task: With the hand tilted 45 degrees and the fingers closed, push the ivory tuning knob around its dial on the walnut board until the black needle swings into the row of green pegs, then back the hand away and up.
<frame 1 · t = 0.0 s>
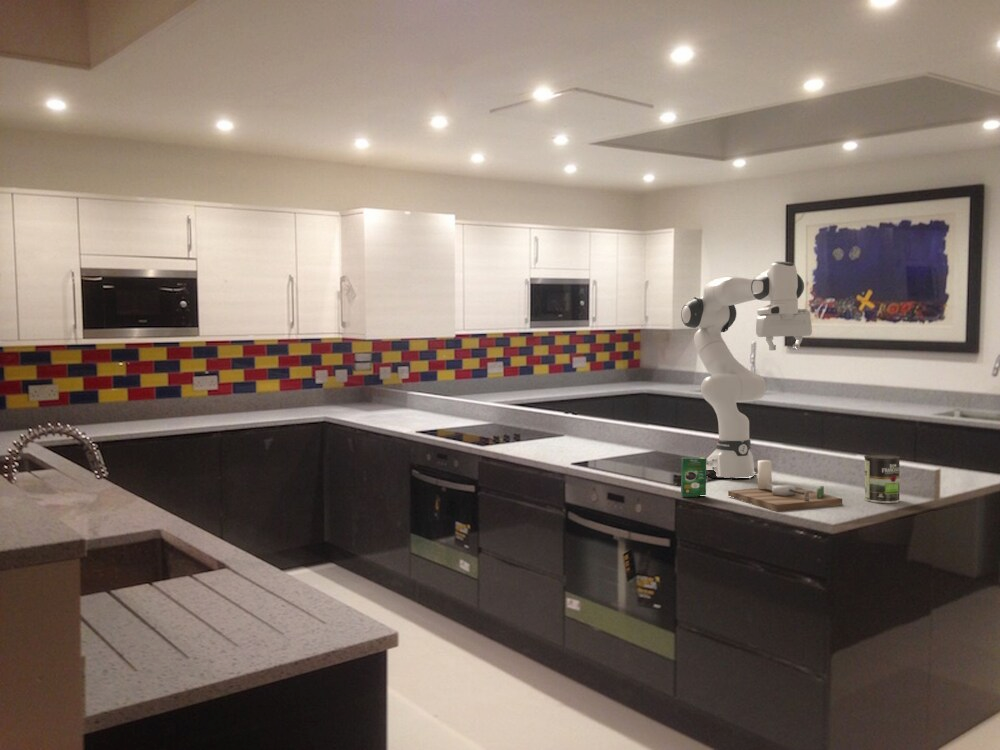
hand: (784, 350, 290), 48 cm above the countertop, tool pointing down, fingers open, 8 cm apart
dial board: (783, 500, 274), on the countertop
coffee box: (693, 497, 284), on the countertop
coffee can: (882, 501, 271), on the countertop
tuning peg: (781, 478, 275), point 7 cm above the countertop, hinge at 0.0°
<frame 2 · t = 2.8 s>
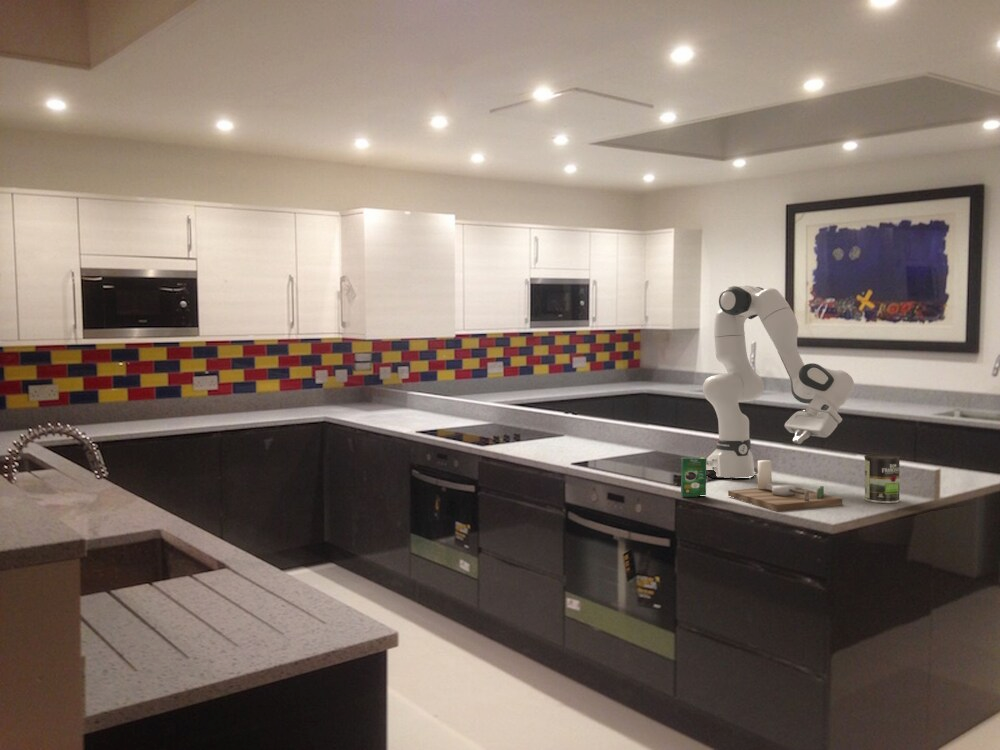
hand: (795, 442, 286), 17 cm above the countertop, tool tilted 45°, fingers closed
nothing on the countertop moved.
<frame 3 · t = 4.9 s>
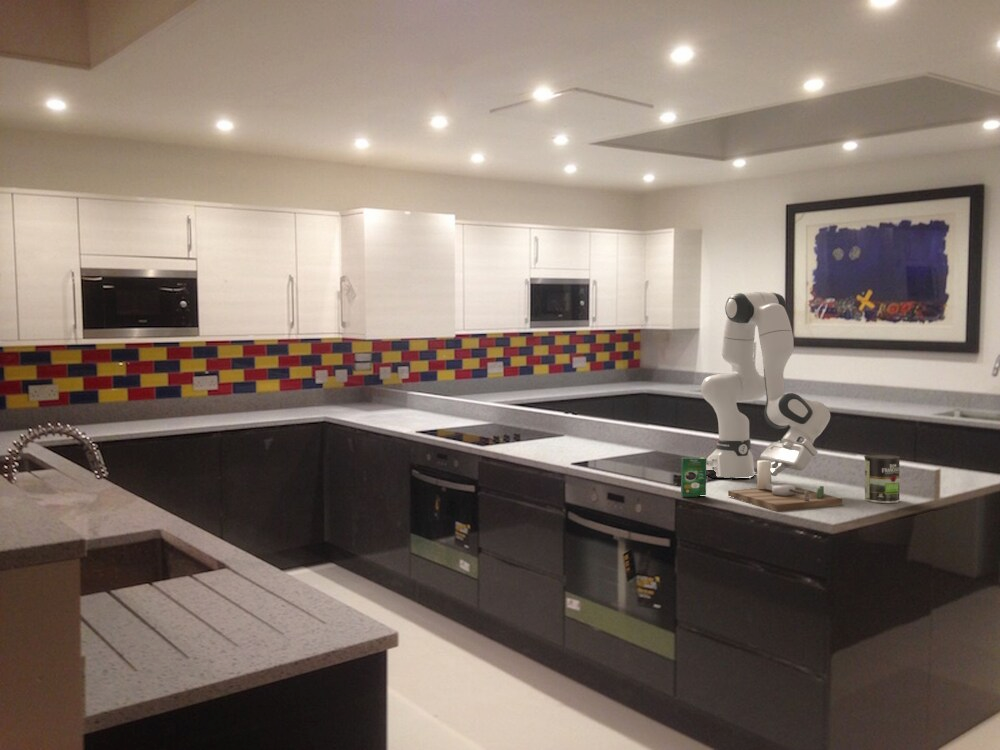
hand: (771, 474, 284), 7 cm above the countertop, tool tilted 45°, fingers closed, pressing on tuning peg
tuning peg: (781, 478, 275), point 7 cm above the countertop, hinge at 0.9°, touching gripper
everything else where it was.
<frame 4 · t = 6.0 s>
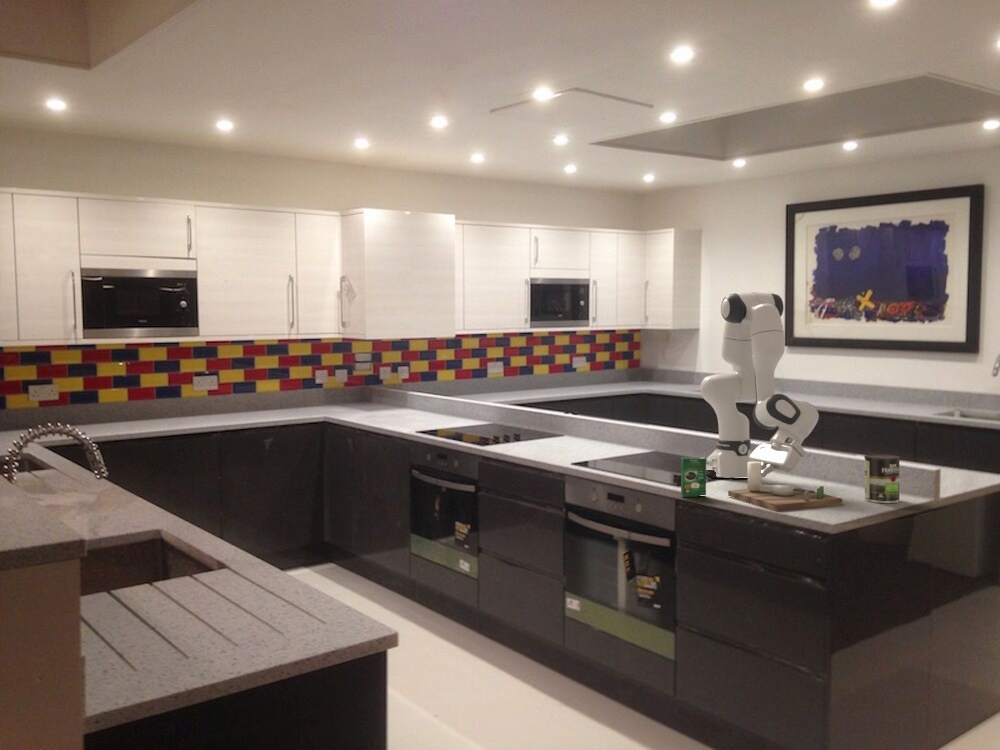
hand: (759, 475, 282), 7 cm above the countertop, tool tilted 45°, fingers closed
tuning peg: (780, 479, 274), point 7 cm above the countertop, hinge at 27.9°, touching gripper
everything else where it was.
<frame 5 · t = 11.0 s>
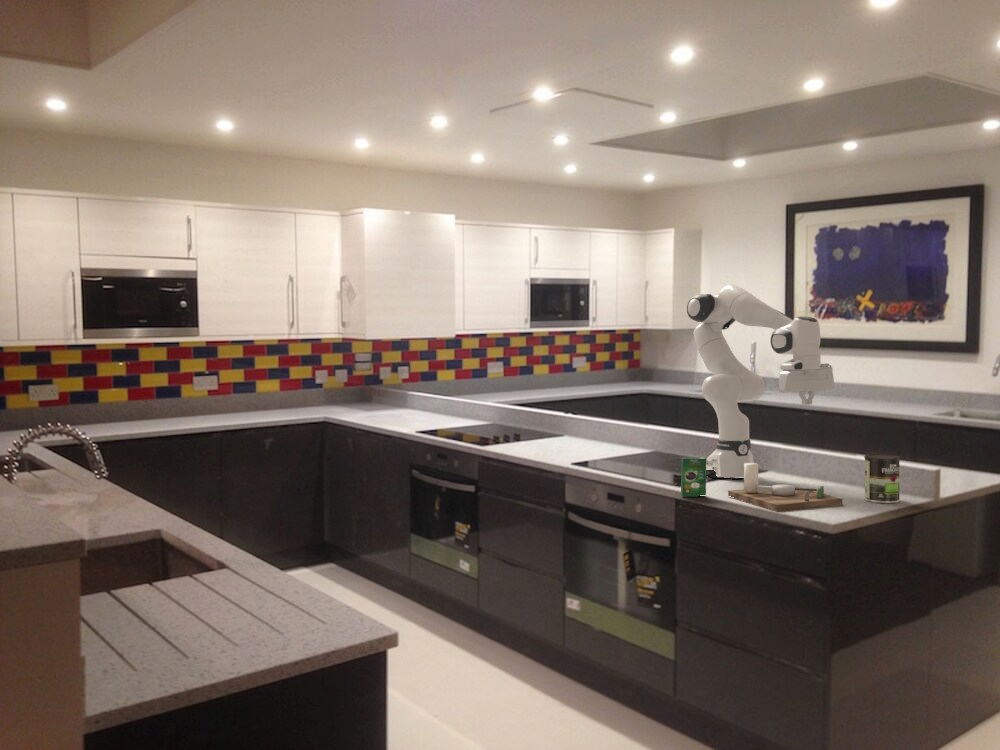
hand: (807, 404, 292), 29 cm above the countertop, tool pointing down, fingers closed
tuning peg: (779, 479, 274), point 7 cm above the countertop, hinge at 48.2°
everything else where it was.
at the end: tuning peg at +48° (first picture: +0°); coffee can moved 0.2 cm from its start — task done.
